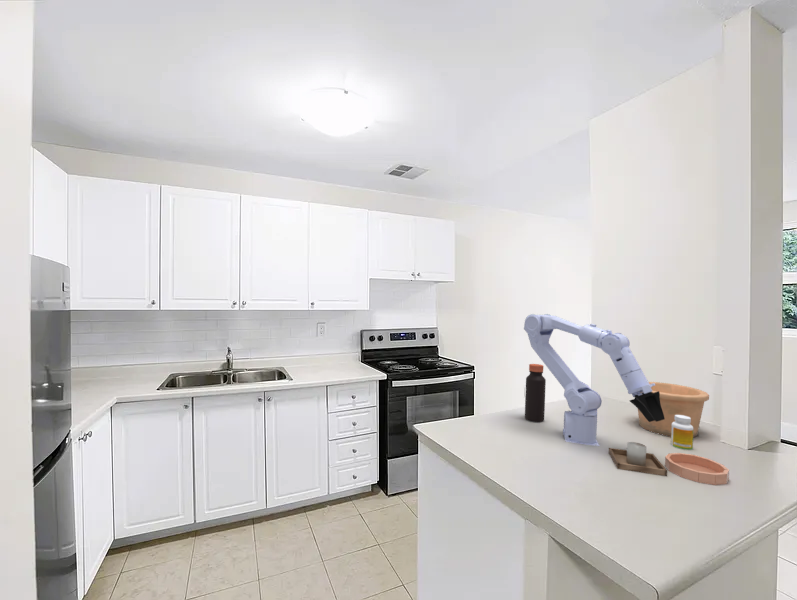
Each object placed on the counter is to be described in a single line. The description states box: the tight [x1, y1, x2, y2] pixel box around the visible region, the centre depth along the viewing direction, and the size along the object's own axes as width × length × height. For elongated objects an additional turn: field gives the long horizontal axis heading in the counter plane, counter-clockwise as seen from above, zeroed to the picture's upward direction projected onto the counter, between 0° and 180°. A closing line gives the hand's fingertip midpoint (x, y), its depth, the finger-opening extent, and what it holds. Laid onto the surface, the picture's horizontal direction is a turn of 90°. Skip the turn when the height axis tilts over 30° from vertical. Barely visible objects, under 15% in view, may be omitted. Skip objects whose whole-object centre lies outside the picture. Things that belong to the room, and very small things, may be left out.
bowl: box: [664, 452, 730, 486], centre depth 99 cm, size 13×13×3 cm
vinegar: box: [524, 363, 547, 423], centre depth 140 cm, size 7×7×20 cm
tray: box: [608, 447, 668, 477], centre depth 103 cm, size 11×11×2 cm
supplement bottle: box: [670, 415, 694, 451], centre depth 117 cm, size 5×5×10 cm
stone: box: [626, 441, 647, 467], centre depth 103 cm, size 4×4×5 cm
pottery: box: [637, 381, 710, 438], centre depth 134 cm, size 22×22×14 cm
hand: (656, 420), depth 104 cm, fingers open, 7 cm apart
